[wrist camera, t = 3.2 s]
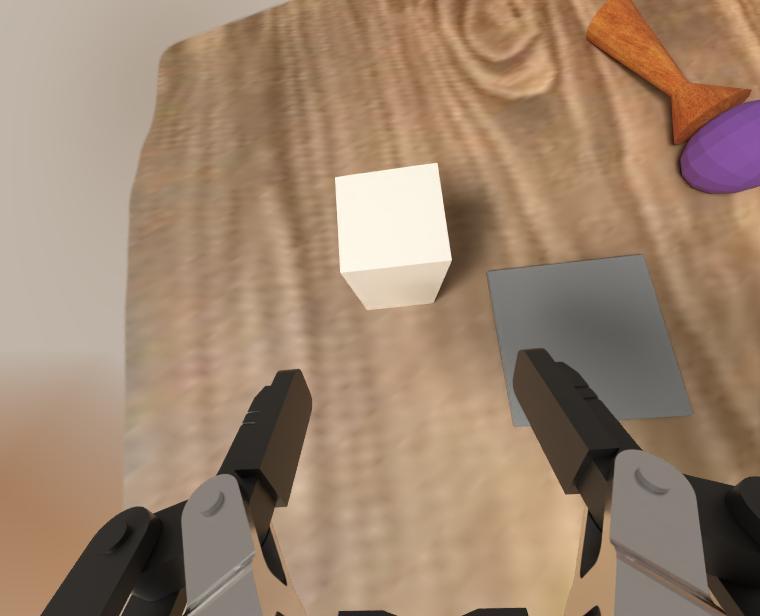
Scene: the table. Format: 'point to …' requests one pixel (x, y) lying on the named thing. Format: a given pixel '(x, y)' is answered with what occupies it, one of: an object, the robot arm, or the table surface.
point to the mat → (592, 332)
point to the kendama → (688, 104)
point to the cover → (393, 235)
